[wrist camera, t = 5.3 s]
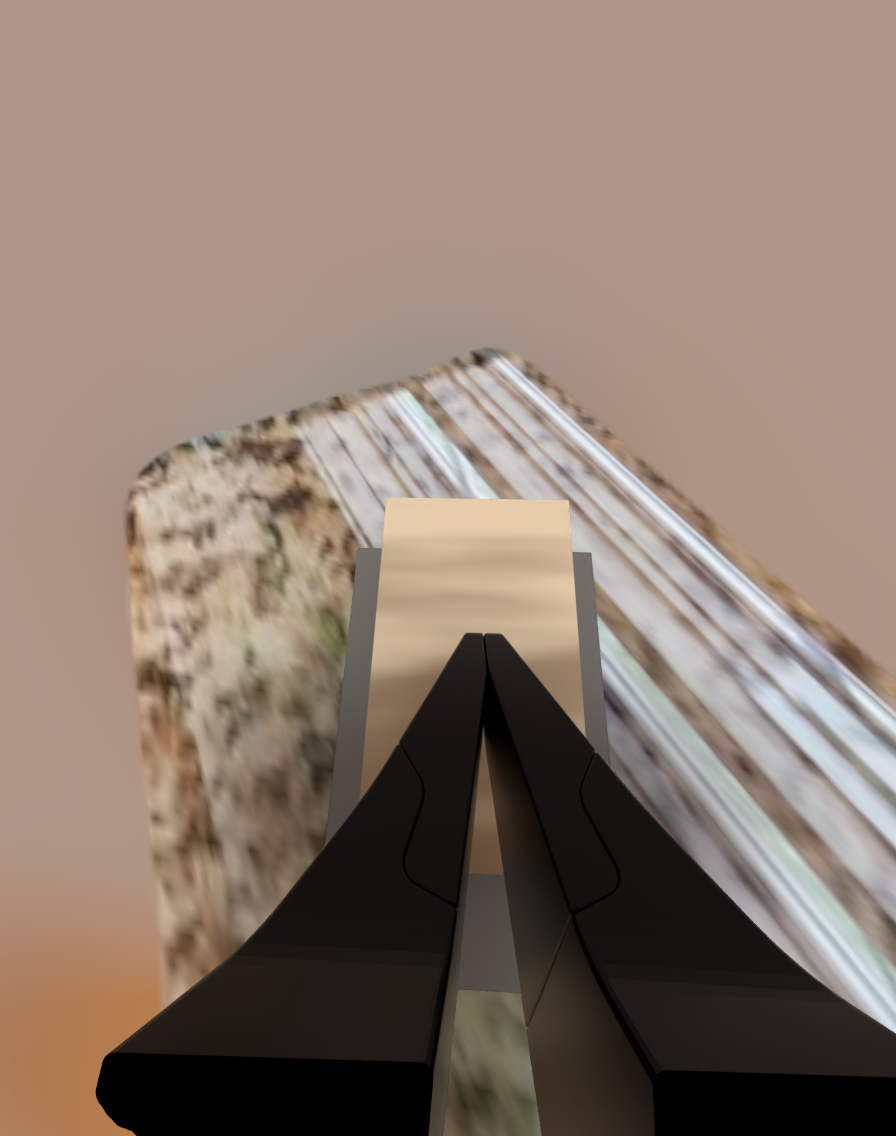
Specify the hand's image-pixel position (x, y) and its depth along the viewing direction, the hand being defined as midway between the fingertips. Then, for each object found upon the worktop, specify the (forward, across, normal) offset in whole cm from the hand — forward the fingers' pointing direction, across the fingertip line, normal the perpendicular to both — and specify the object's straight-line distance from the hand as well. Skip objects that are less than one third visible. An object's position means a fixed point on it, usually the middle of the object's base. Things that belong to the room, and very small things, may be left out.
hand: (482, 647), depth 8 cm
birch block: (0, 0, +8) cm, 8 cm away
